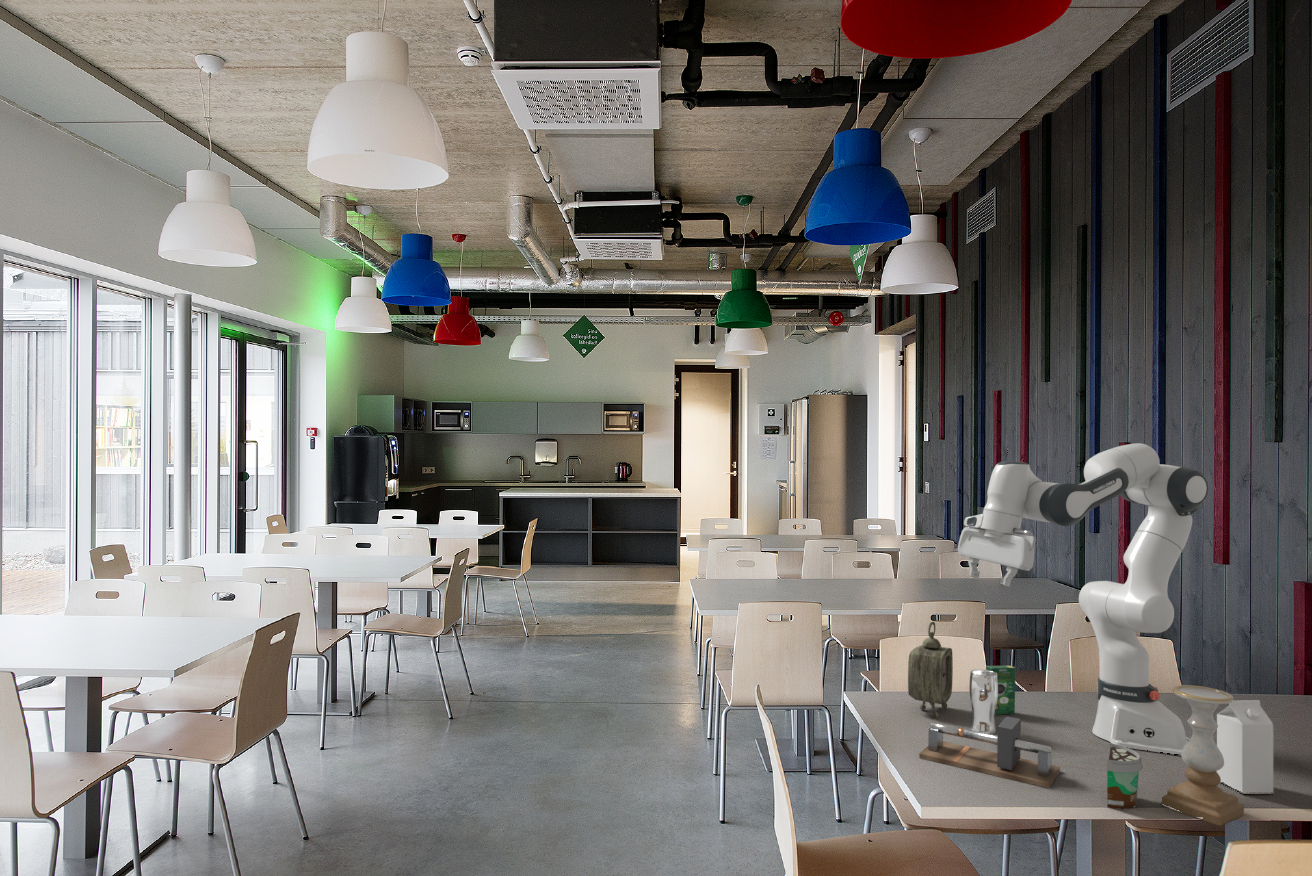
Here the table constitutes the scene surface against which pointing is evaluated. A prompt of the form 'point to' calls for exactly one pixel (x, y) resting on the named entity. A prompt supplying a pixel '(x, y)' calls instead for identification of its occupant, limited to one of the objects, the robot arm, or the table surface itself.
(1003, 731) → the collar
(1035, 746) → the linear slide rail
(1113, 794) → the food container
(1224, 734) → the milk carton
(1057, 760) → the table surface
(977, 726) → the beer glass
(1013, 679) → the coffee box
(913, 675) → the tabletop clock
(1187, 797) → the candle holder
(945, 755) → the board
